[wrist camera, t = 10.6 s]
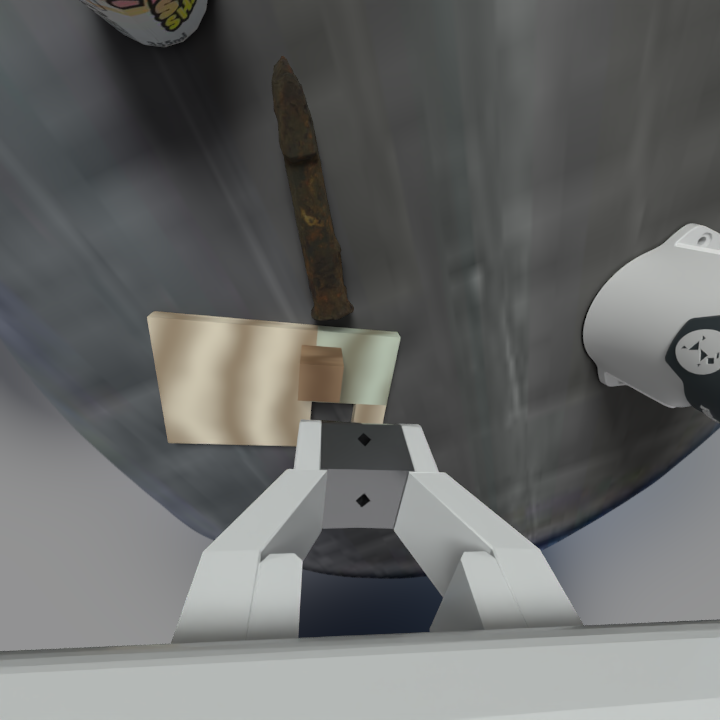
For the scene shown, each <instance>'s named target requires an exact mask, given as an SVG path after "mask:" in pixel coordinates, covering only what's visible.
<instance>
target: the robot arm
mask: <svg viewBox="0 0 720 720" xmlns="http://www.w3.org/2000/svg"><path fill="white" fill-rule="evenodd" d="M583 341H584V346H585V349H586V351H587V353H588V355H589V356H590V357H591V359H592V360H593V361H594V362H595V363H596V365H597V368H598V376H599V380H600V382H602V383H603V384H605V385H607V386H610V387H612V386H621V385H628V386H630V387H631V388H633V389H635V390H637V391H639V392H640V393H642V394H644V395H646V396H648V397H650V398H651V399H653V400H655V401H657V402H659V403H661V404H662V405H664V406H667V407H670V408H675V407H688V406H693V407H694V408H696V409H697V410H699V411H701V412H703V413H704V414H705V415H706V416H708V417H709V418H711V419H712V420H714V421H716V422H718V423H720V234H719V233H717V232H715V231H713V230H711V229H709V228H707V227H705V226H703V225H698V224H693V223H691V224H688V225H686V226H684V227H682V228H681V229H680V230H678V231H677V232H676V233H675V234H673V235H672V236H671V237H670V238H669V239H668V240H667V241H666V242H664V243H663V244H662V245H660V246H659V247H657V248H655V249H653V250H651V251H649V252H647V253H645V254H643V255H641V256H639V257H637V258H635V259H634V260H632V261H631V262H629V263H628V264H626V265H625V266H624V267H622V268H621V269H620V270H619V271H618V272H616V273H615V274H614V275H613V276H612V277H611V278H610V279H609V280H608V281H607V283H606V284H605V285H604V286H603V287H602V289H601V290H600V291H599V293H598V294H597V296H596V297H595V299H594V301H593V302H592V304H591V306H590V309H589V311H588V313H587V316H586V319H585V323H584V329H583ZM326 528H391V529H394V531H395V533H396V534H397V535H398V537H399V538H400V539H401V541H402V542H403V544H404V545H405V546H406V548H407V549H408V550H409V552H410V553H411V554H412V556H413V557H414V558H415V560H416V561H417V563H418V564H419V565H420V567H421V568H422V569H423V571H424V572H425V573H426V575H427V576H428V577H429V579H430V580H431V582H432V583H433V584H434V586H435V587H436V588H437V589H438V591H439V592H440V594H441V595H442V596H443V600H442V602H441V605H440V607H439V609H438V611H437V614H436V616H435V618H434V621H433V623H432V625H431V627H430V632H423V633H401V634H379V635H357V636H335V637H313V638H298V630H299V612H300V596H301V578H302V562H303V560H304V559H305V557H306V555H307V554H308V552H309V551H310V549H311V547H312V546H313V544H314V542H315V541H316V539H317V537H318V536H319V534H320V533H321V530H322V529H326ZM0 720H720V620H699V621H677V622H656V623H634V624H633V623H632V624H611V625H610V624H609V625H585V626H584V625H583V623H582V621H581V620H580V618H579V616H578V615H577V613H576V611H575V610H574V608H573V606H572V604H571V602H570V601H569V599H568V598H567V596H566V594H565V592H564V590H563V589H562V587H561V585H560V584H559V582H558V580H557V578H556V577H555V575H554V573H553V572H552V570H551V568H550V566H549V565H548V563H547V561H546V559H545V558H544V556H543V554H542V553H541V551H540V549H538V548H537V547H536V546H535V545H534V544H532V543H531V542H530V541H529V540H527V539H526V538H525V537H524V536H523V535H521V534H520V533H519V532H518V531H516V530H515V529H514V528H513V527H511V526H510V525H509V524H508V523H507V522H505V521H504V520H503V519H502V518H500V517H499V516H498V515H497V514H495V513H494V512H493V511H492V510H491V509H489V508H488V507H487V506H486V505H484V504H483V503H482V502H481V501H479V500H478V499H477V498H476V497H475V496H473V495H472V494H471V493H470V492H468V491H467V490H466V489H465V488H463V487H462V486H461V485H460V484H459V483H457V482H456V481H455V480H454V479H452V478H451V477H450V476H449V475H448V474H446V473H441V472H439V471H438V468H437V466H436V463H435V461H434V458H433V455H432V453H431V450H430V448H429V445H428V443H427V440H426V438H425V435H424V433H423V430H422V428H421V426H420V425H419V424H399V425H398V424H374V423H356V422H341V421H326V420H322V423H321V420H305V419H301V420H300V423H299V431H298V439H297V447H296V456H295V464H294V469H287V470H286V471H285V472H284V473H283V474H282V475H281V476H280V477H279V478H278V479H277V480H276V481H275V482H274V483H273V484H271V485H270V486H269V487H268V488H267V489H266V490H265V491H264V492H263V493H262V494H261V495H260V496H259V497H258V498H257V499H256V500H255V501H254V502H253V503H252V504H251V505H250V506H249V507H248V508H247V509H246V510H245V511H244V512H243V513H242V514H241V515H240V516H239V517H238V518H237V519H236V520H235V521H234V522H233V523H232V524H231V525H230V526H229V527H228V528H227V529H226V530H225V531H224V532H223V533H222V534H221V535H220V536H219V537H218V538H217V539H216V540H215V541H213V543H212V544H210V545H209V546H208V547H207V548H206V549H205V550H204V551H203V553H202V556H201V559H200V562H199V565H198V568H197V571H196V573H195V576H194V579H193V582H192V585H191V588H190V590H189V593H188V596H187V599H186V602H185V605H184V608H183V611H182V613H181V616H180V619H179V622H178V625H177V628H176V631H175V633H174V636H173V639H172V642H171V644H153V645H131V646H110V647H109V646H108V647H87V648H86V647H85V648H64V649H41V650H18V651H0Z"/></svg>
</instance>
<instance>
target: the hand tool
mask: <svg viewBox="0 0 720 720" xmlns="http://www.w3.org/2000/svg"><path fill="white" fill-rule="evenodd" d="M272 93H273V101H274V112H275V114H276V117H277V120H278V130H279V143H280V148H281V150H282V153H283V156H284V160H285V167H286V172H287V176H288V181H289V186H290V190H291V194H292V201H293V206H294V211H295V217H296V223H297V227H298V231H299V237H300V242H301V246H302V250H303V256H304V261H305V267H306V270H307V275H308V280H309V286H310V290H311V292H312V297H313V301H314V307H313V309H312V310H311V311H312V312H311V316H312V318H314V319H315V320H318V321H321V320H332V319H335V320H337V319H341V318H342V317H343V316H346V315H348V314H350V313H352V312H353V310H354V307H353V305H352V304H351V303H350V302H349V301H348V299H347V296H346V295H347V289H346V287H345V286H344V284H343V275H342V265H341V263H342V262H341V254H340V252H341V248H340V245H339V243H338V241H337V239H336V237H335V234H334V230H333V224H332V219H331V215H330V210H329V205H328V200H327V195H326V189H325V184H324V179H323V174H322V168H321V162H320V158H319V154H318V148H317V142H316V136H315V131H314V128H313V121H312V118H311V114H310V111H309V109H308V106H307V102H306V99H305V95H304V93H303V89H302V86H301V84H300V83H299V81H298V79H297V77H296V76H295V75H294V73H293V70H292V68H291V67H290V65H289V63H288V61H287V59H286V58H285V57H284V56H281V59H280V60H279V61H278V62H277V64H276V65H275V66H274V72H273V77H272Z"/></svg>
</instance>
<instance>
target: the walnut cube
mask: <svg viewBox="0 0 720 720" xmlns="http://www.w3.org/2000/svg"><path fill="white" fill-rule="evenodd" d="M343 370H344V364H343V356H342V349H341V348H337V347H323V346H310V345H302V347H301V357H300V368H299V385H298V401H315V402H336V403H339V401H340V394H341V386H342V378H343Z"/></svg>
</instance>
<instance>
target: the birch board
mask: <svg viewBox="0 0 720 720" xmlns="http://www.w3.org/2000/svg"><path fill="white" fill-rule="evenodd" d="M147 320H148V326H149V332H150V338H151V344H152V350H153V355H154V361H155V367H156V373H157V379H158V385H159V391H160V397H161V403H162V409H163V415H164V421H165V427H166V433H167V439H168V443H191V444H229V445H268V446H297V439H298V431H299V423H300V420H301V419H305V420H310V416H311V404H312V402H315V401H298V385H299V368H300V357H301V347H302V345H310V346H323V347H337V348H341V349H342V356H343V364H344V370H343V378H342V386H341V394H340V401H339V403H348V404H354V406H353V413H352V419H351V422H356V423H374V424H383V419H384V414H385V409H386V404H387V400H388V395H389V390H390V385H391V381H392V376H393V371H394V366H395V362H396V357H397V352H398V347H399V343H400V336H399V334H398V332H390V331H378V330H367V329H355V328H343V327H332V326H320V325H308V324H297V323H285V322H273V321H262V320H250V319H238V318H227V317H215V316H203V315H192V314H180V313H168V312H157V311H154V312H153V313H151V314H150V315H149V316H147ZM327 403H336V402H327Z"/></svg>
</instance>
